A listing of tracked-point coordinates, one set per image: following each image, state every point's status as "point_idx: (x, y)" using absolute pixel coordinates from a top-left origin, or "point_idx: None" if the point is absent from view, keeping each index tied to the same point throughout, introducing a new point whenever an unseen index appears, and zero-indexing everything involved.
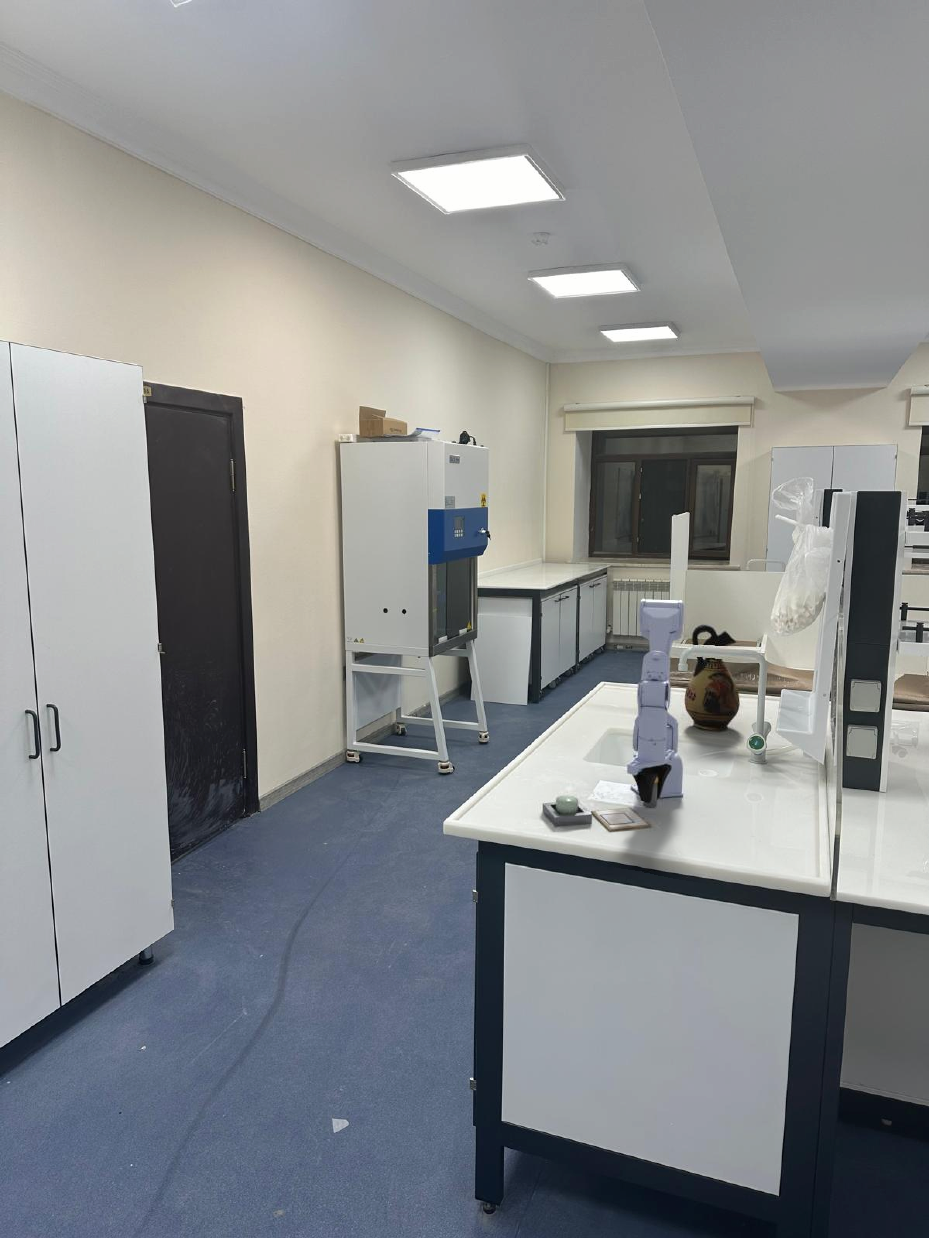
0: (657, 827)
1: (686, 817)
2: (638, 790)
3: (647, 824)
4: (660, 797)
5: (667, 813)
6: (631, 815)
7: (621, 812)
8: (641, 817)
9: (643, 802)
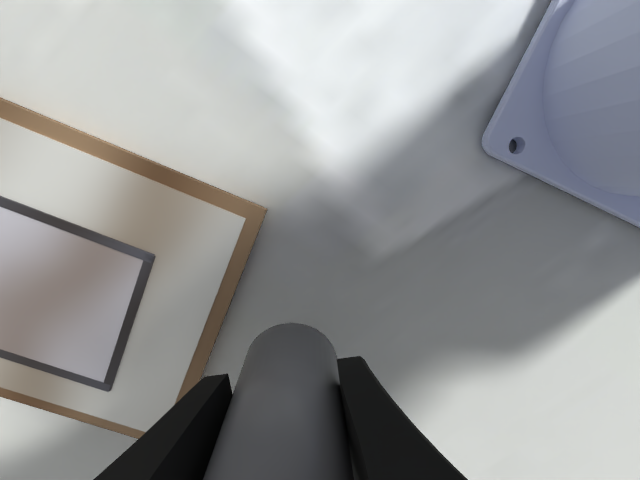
0: None
1: None
2: (135, 444)
3: None
4: (570, 192)
5: (394, 367)
6: (168, 310)
7: (148, 240)
8: (205, 354)
9: (246, 360)
